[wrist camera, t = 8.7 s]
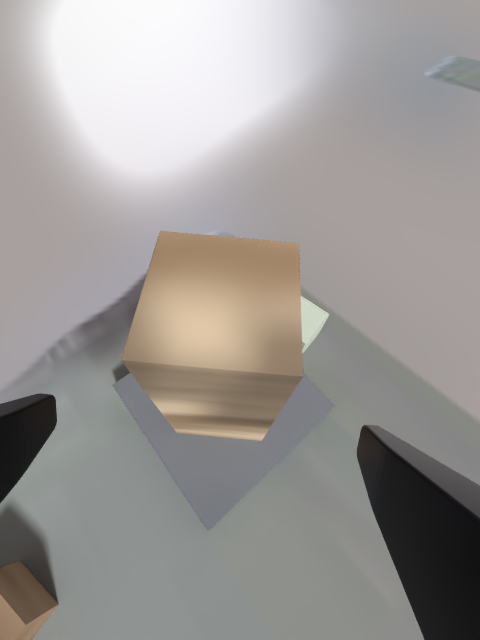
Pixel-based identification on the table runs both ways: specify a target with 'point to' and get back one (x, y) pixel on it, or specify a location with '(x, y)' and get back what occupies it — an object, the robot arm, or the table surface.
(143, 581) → the table surface
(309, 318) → the sage brick
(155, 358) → the oak block
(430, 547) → the robot arm
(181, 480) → the slate tile
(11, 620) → the walnut brick
